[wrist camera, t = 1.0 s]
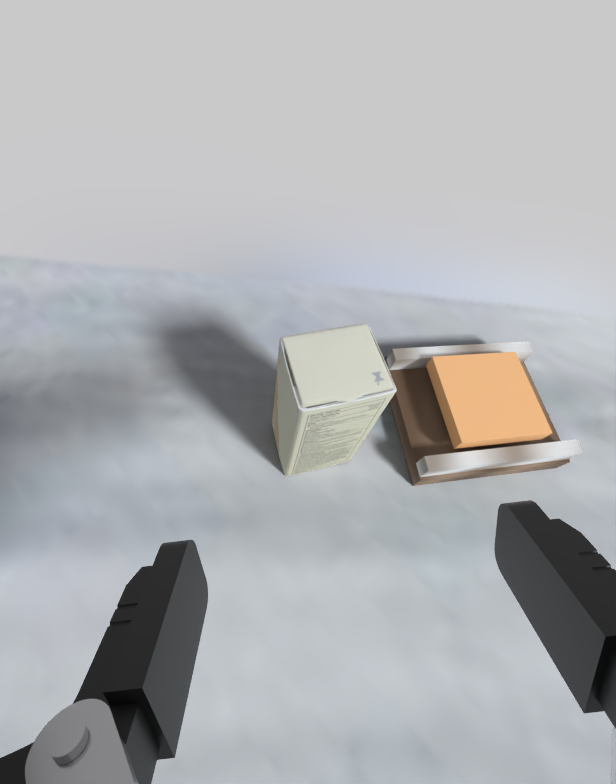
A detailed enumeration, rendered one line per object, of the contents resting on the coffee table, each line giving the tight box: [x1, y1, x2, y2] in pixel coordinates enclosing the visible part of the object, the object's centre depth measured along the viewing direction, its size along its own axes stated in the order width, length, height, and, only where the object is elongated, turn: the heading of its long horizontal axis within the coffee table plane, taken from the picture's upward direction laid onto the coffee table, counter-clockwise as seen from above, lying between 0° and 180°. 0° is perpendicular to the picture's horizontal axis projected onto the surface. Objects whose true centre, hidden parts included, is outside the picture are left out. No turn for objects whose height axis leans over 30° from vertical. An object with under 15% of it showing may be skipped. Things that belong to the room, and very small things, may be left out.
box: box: [272, 324, 397, 476], centre depth 24 cm, size 5×4×11 cm
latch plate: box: [426, 352, 552, 449], centre depth 29 cm, size 7×7×1 cm
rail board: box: [385, 341, 583, 486], centre depth 31 cm, size 12×10×3 cm
